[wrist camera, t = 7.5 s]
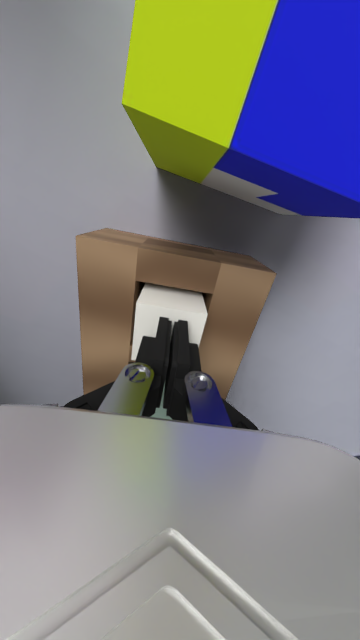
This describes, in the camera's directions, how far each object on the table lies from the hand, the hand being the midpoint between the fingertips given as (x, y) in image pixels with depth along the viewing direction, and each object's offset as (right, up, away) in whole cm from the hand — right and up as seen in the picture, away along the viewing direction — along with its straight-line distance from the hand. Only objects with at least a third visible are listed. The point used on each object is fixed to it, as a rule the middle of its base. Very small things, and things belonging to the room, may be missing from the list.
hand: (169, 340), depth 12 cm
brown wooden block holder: (-1, -2, +10) cm, 10 cm away
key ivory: (0, +2, +4) cm, 5 cm away
